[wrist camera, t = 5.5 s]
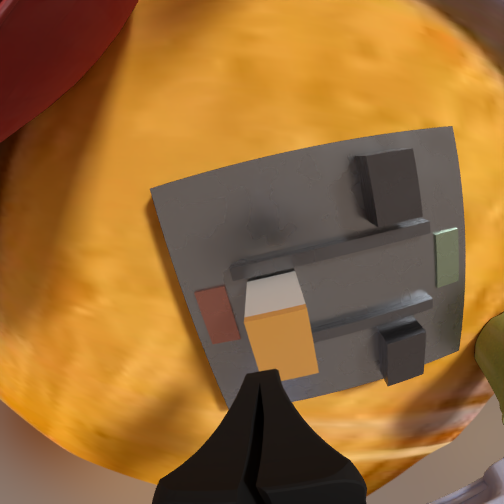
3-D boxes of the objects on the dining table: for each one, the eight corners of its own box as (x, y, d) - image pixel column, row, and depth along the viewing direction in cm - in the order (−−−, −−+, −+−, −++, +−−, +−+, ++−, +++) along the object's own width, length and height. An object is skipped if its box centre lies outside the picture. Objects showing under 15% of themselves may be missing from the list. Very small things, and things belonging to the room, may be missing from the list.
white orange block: (261, 335, 20) (263, 384, 16) (247, 281, 19) (243, 322, 14) (306, 326, 20) (318, 372, 15) (294, 270, 19) (307, 308, 14)
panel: (231, 399, 24) (228, 429, 21) (157, 186, 19) (138, 192, 16) (451, 341, 23) (469, 363, 19) (441, 127, 18) (469, 124, 14)
